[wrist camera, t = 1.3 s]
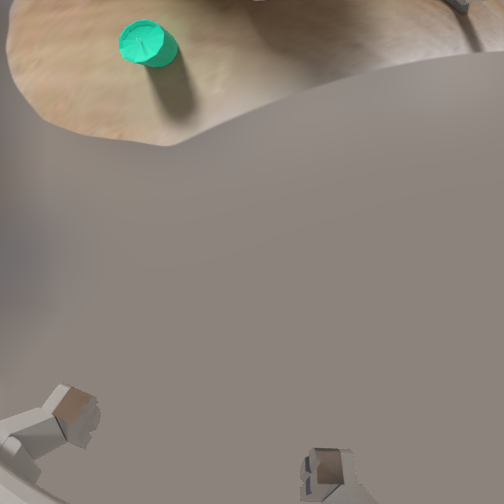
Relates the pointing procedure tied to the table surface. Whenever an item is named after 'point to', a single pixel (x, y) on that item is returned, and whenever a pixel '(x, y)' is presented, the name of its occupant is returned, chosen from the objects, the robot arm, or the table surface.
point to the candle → (147, 44)
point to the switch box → (459, 5)
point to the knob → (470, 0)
